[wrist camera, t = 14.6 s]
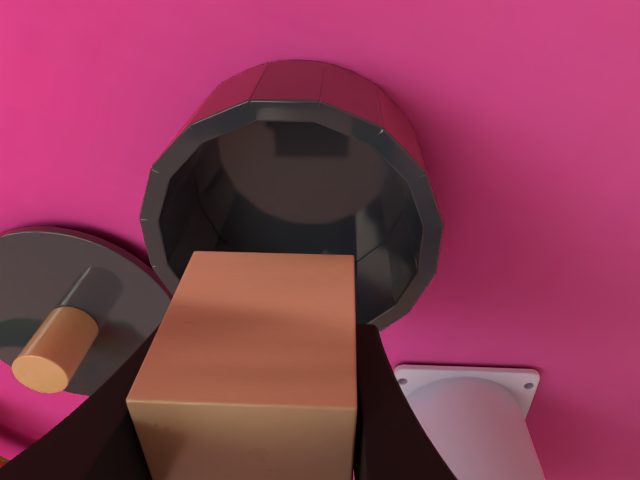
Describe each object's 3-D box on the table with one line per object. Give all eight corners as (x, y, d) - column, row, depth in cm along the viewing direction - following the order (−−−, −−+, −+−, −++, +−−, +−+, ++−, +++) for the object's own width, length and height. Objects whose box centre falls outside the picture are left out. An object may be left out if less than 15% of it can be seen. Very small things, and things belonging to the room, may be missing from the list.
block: (349, 366, 16) (349, 529, 11) (213, 361, 16) (164, 520, 12) (354, 254, 13) (357, 409, 9) (193, 250, 13) (123, 400, 9)
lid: (203, 386, 29) (182, 454, 26) (16, 379, 30) (-32, 445, 26) (170, 221, 23) (136, 280, 19) (-68, 216, 23) (-146, 272, 20)
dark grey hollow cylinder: (409, 281, 24) (422, 356, 20) (199, 275, 25) (169, 347, 21) (437, 60, 18) (464, 102, 14) (161, 57, 19) (109, 97, 15)
